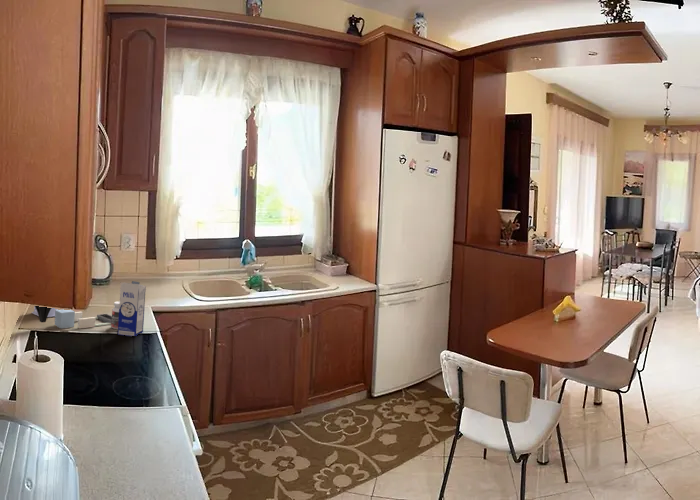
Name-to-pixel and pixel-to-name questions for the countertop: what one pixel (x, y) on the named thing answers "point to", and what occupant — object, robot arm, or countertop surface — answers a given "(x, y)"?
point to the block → (64, 318)
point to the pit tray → (105, 318)
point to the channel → (86, 321)
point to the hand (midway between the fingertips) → (42, 321)
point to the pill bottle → (115, 315)
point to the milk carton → (131, 309)
